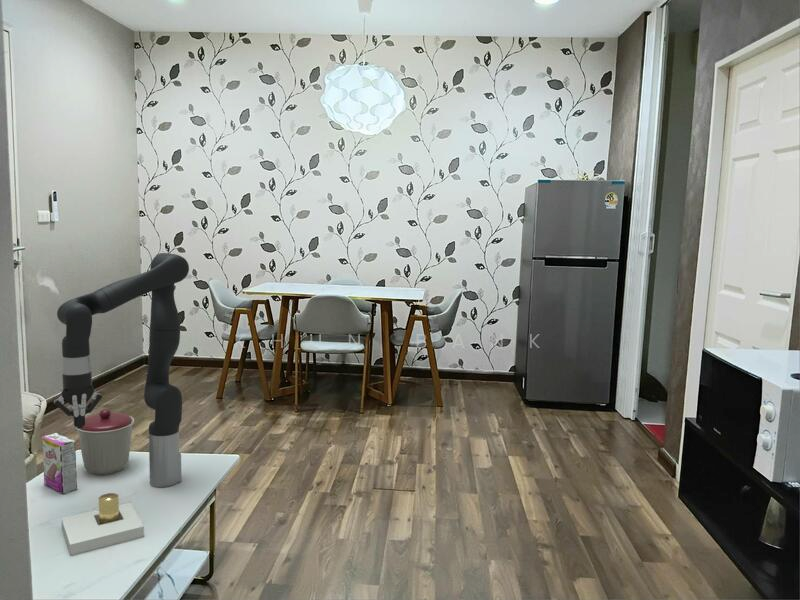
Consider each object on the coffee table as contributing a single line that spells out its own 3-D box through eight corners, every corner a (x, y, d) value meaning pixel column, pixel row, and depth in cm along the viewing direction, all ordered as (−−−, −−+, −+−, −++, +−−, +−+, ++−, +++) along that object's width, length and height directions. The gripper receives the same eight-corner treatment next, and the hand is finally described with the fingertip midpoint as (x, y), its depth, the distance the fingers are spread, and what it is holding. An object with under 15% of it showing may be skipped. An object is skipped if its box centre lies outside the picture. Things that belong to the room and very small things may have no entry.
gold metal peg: (117, 521, 177) (116, 491, 175) (120, 528, 173) (120, 498, 171) (97, 525, 174) (97, 495, 172) (101, 533, 170) (100, 502, 168)
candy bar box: (42, 485, 196) (40, 436, 194) (58, 480, 201) (56, 432, 198) (62, 495, 191) (60, 444, 188) (78, 489, 195) (76, 440, 192)
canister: (127, 479, 203) (126, 418, 200) (68, 480, 200) (66, 418, 197) (141, 457, 221) (139, 400, 218) (87, 458, 218) (85, 401, 215)
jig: (130, 512, 182) (130, 502, 181) (143, 536, 169) (143, 526, 169) (61, 528, 171) (61, 518, 171) (70, 555, 159) (70, 544, 158)
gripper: (99, 364, 185) (101, 419, 187) (49, 370, 177) (52, 427, 179) (104, 370, 179) (106, 427, 181) (53, 376, 171) (56, 436, 173)
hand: (79, 427), depth 180 cm, fingers closed
